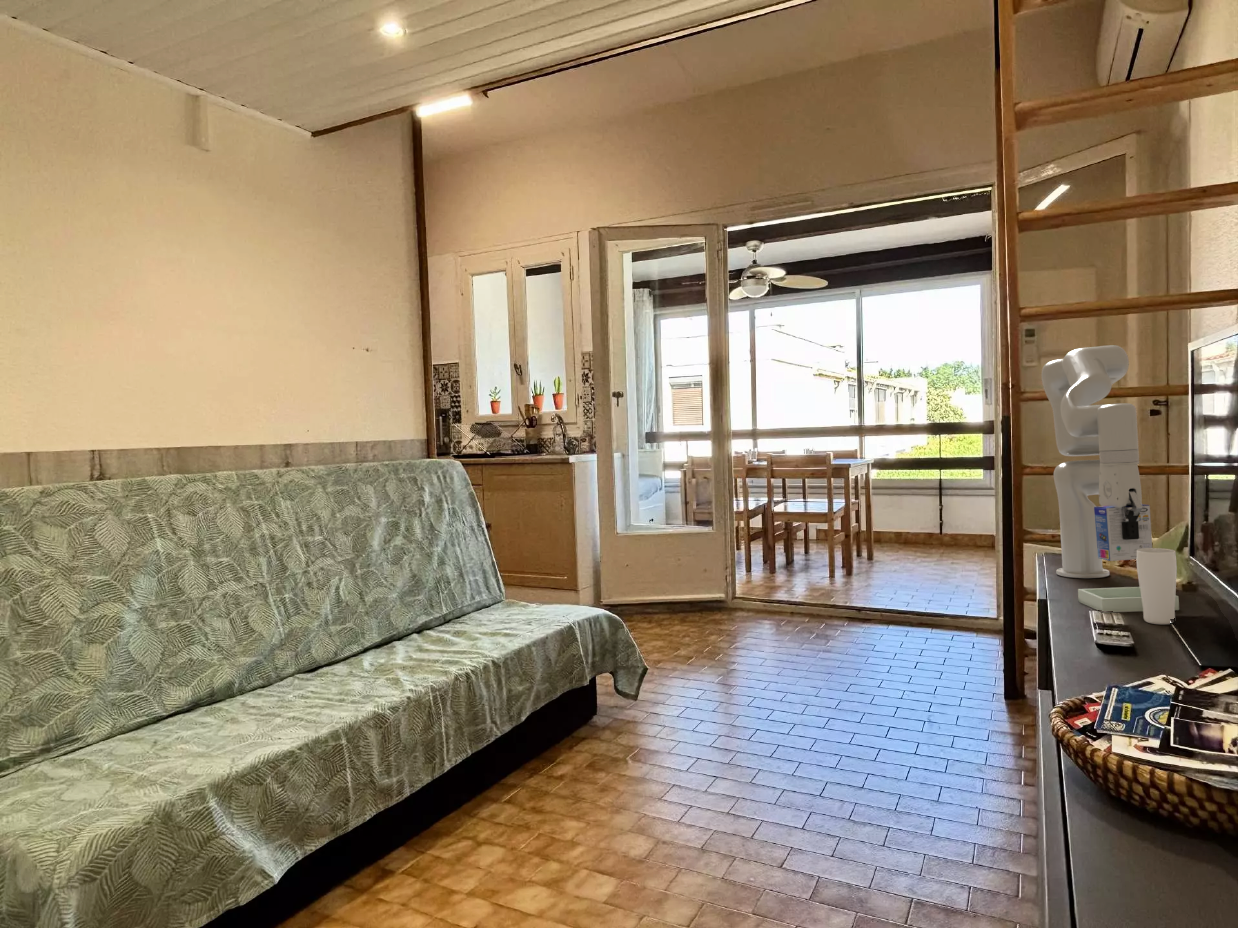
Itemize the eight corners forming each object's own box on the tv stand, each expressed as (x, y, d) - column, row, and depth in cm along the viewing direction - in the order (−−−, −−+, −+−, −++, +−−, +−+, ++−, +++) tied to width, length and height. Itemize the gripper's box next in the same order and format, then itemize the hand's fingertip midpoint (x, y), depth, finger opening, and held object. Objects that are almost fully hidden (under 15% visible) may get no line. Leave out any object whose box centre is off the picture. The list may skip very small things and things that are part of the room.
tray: (1078, 601, 181) (1077, 589, 181) (1149, 599, 179) (1149, 586, 179) (1102, 612, 170) (1101, 598, 170) (1179, 609, 168) (1178, 596, 168)
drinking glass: (1167, 627, 154) (1163, 553, 154) (1132, 621, 160) (1128, 550, 160) (1186, 622, 157) (1183, 549, 157) (1152, 616, 163) (1148, 547, 163)
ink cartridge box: (1138, 555, 177) (1135, 493, 176) (1154, 559, 171) (1151, 494, 171) (1095, 558, 177) (1092, 495, 177) (1110, 561, 171) (1106, 497, 171)
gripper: (1083, 458, 183) (1087, 534, 183) (1120, 460, 166) (1125, 543, 166) (1117, 456, 182) (1121, 532, 182) (1158, 457, 165) (1162, 541, 165)
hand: (1123, 536), depth 174 cm, fingers closed on ink cartridge box, 5 cm apart
